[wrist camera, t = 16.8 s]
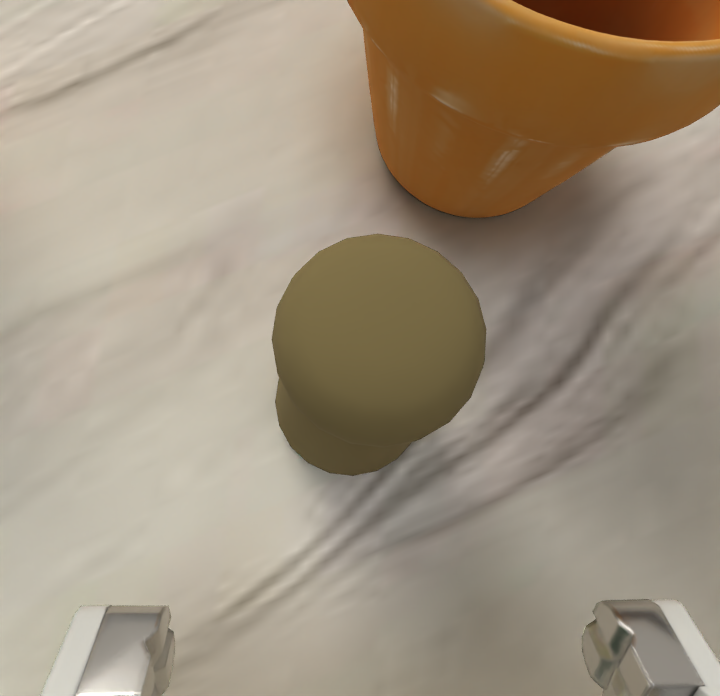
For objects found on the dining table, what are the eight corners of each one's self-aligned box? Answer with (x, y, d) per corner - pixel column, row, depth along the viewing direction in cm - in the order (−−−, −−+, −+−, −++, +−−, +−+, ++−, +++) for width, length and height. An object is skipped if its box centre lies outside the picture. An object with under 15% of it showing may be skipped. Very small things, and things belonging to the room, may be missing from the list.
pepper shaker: (275, 479, 22) (246, 467, 11) (274, 329, 23) (248, 192, 12) (428, 472, 22) (540, 455, 12) (417, 327, 24) (508, 194, 13)
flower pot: (640, 73, 28) (909, -261, 16) (572, 321, 24) (854, 144, 12) (380, -26, 28) (439, -440, 16) (272, 207, 24) (236, -91, 12)
